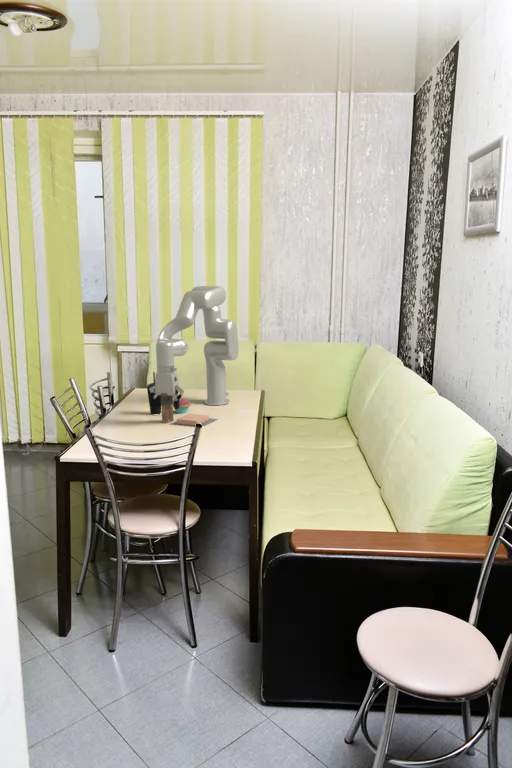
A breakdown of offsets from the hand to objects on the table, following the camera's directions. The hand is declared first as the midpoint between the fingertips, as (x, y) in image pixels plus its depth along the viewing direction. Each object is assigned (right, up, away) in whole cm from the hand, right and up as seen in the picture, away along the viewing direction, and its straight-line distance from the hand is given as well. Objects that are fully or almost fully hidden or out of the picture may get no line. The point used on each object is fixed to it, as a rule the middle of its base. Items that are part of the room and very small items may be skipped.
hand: (167, 408), depth 273 cm
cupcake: (+4, -4, +19) cm, 20 cm away
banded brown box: (0, -7, +1) cm, 7 cm away
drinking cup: (-8, -4, +19) cm, 21 cm away
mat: (+12, -7, 0) cm, 14 cm away
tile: (+14, -4, +4) cm, 15 cm away
